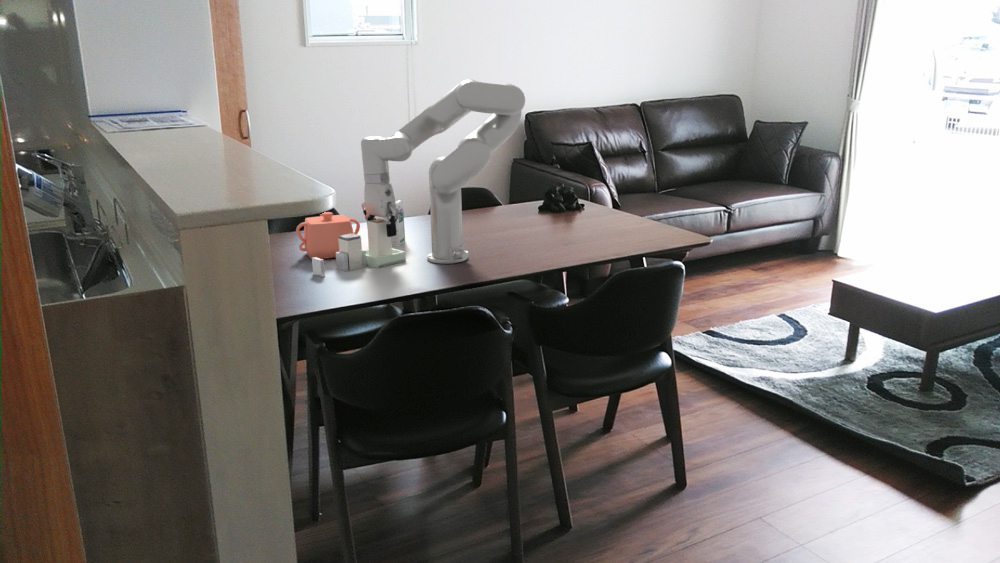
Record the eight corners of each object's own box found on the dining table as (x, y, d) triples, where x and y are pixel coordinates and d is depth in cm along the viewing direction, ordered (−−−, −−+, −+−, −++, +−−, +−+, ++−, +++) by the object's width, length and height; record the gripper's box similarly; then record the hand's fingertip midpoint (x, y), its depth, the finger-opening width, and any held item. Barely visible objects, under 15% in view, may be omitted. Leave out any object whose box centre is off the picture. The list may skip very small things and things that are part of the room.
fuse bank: (366, 266, 241) (364, 234, 238) (321, 277, 230) (319, 244, 227) (357, 263, 244) (355, 232, 241) (312, 274, 233) (310, 241, 230)
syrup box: (400, 245, 264) (398, 202, 260) (383, 245, 265) (380, 202, 261) (405, 241, 270) (403, 199, 265) (388, 241, 271) (386, 199, 267)
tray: (405, 261, 246) (405, 251, 245) (377, 268, 238) (376, 258, 238) (384, 254, 253) (383, 245, 252) (355, 261, 246) (355, 252, 245)
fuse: (392, 258, 246) (390, 219, 242) (379, 261, 242) (376, 222, 239) (382, 255, 249) (380, 217, 245) (369, 259, 246) (367, 219, 242)
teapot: (353, 243, 269) (351, 202, 265) (365, 256, 251) (363, 214, 247) (293, 249, 262) (289, 207, 258) (301, 263, 245) (297, 219, 241)
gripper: (404, 179, 235) (409, 235, 240) (369, 174, 247) (375, 227, 252) (384, 183, 230) (389, 240, 235) (349, 177, 242) (355, 232, 247)
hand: (382, 233), depth 243 cm, fingers open, 9 cm apart
